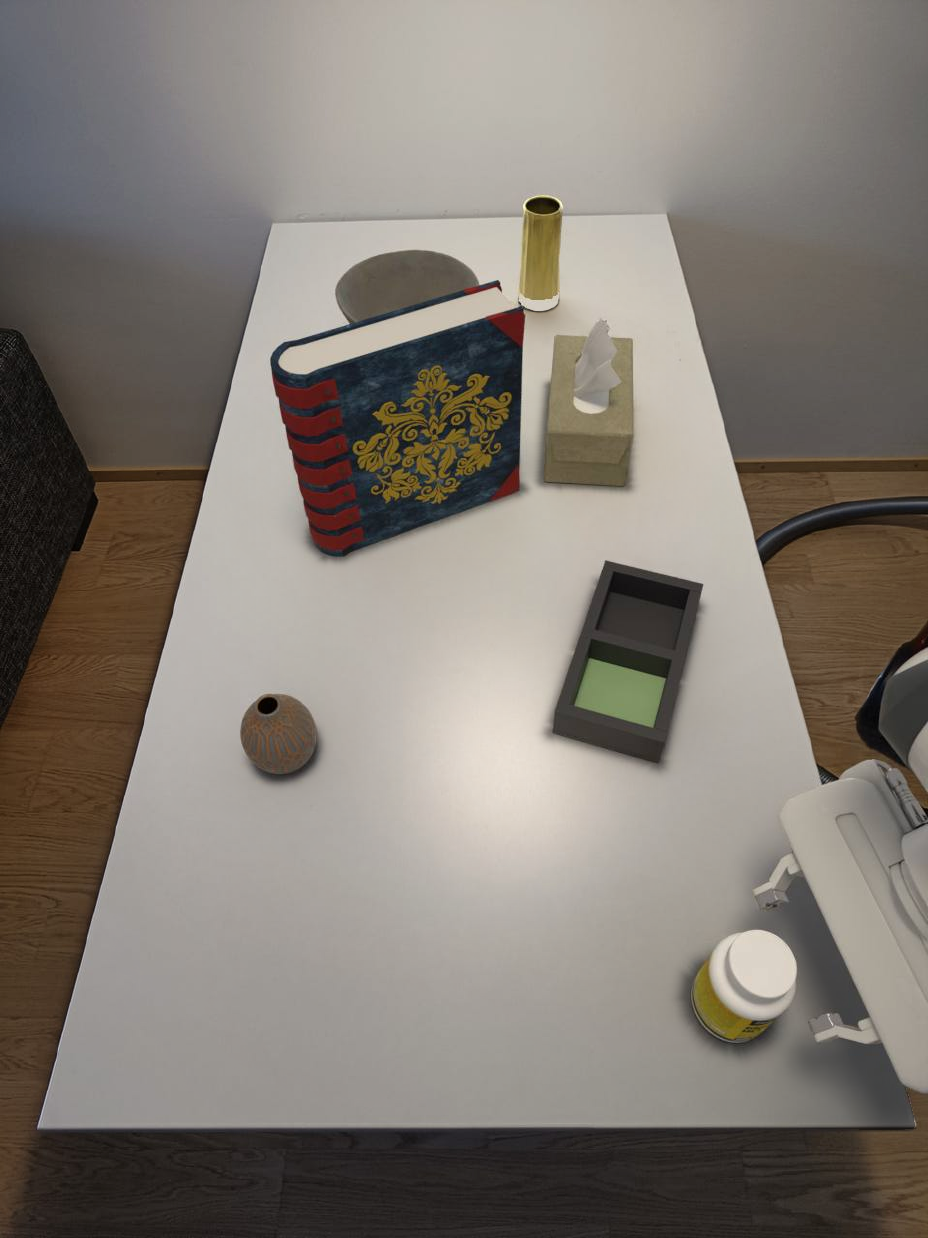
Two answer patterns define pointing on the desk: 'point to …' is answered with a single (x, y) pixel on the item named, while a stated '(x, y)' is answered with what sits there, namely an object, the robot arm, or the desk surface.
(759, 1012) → the pill bottle
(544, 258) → the vase
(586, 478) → the tissue box
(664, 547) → the desk surface
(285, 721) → the vase
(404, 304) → the bowl
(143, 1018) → the desk surface
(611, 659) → the holder
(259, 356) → the desk surface
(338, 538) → the book
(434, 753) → the desk surface
